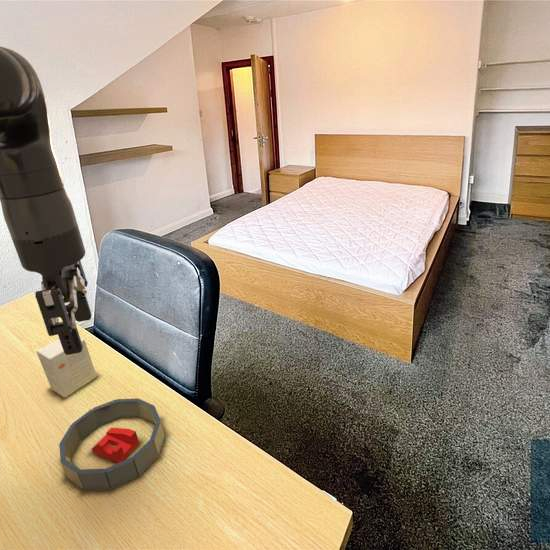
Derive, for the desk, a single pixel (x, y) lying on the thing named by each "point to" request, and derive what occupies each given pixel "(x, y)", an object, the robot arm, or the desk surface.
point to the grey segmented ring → (119, 471)
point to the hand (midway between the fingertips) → (79, 335)
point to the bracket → (119, 437)
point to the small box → (66, 368)
